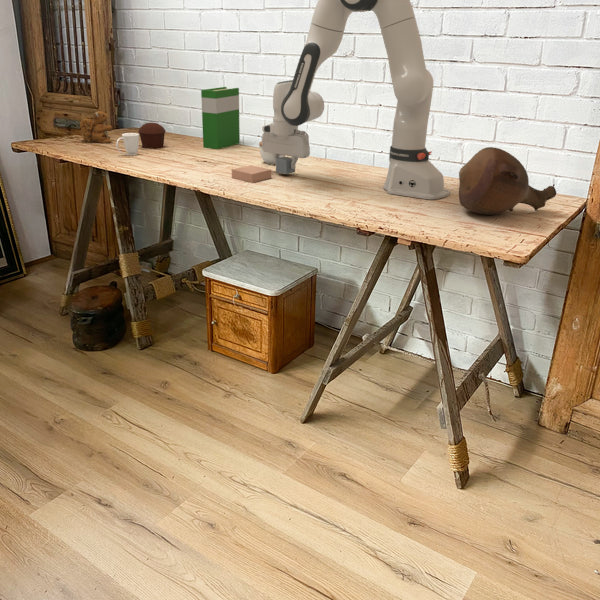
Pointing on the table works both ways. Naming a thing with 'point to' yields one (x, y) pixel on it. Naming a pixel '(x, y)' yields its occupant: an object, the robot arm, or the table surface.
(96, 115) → the stuffed squirrel
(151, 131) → the muffin
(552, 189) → the brown bulbous piece
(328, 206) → the table surface
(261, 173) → the pedestal
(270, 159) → the lidded jar
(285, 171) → the cube
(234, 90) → the hardback book
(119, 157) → the table surface
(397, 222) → the table surface
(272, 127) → the robot arm
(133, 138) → the cup
